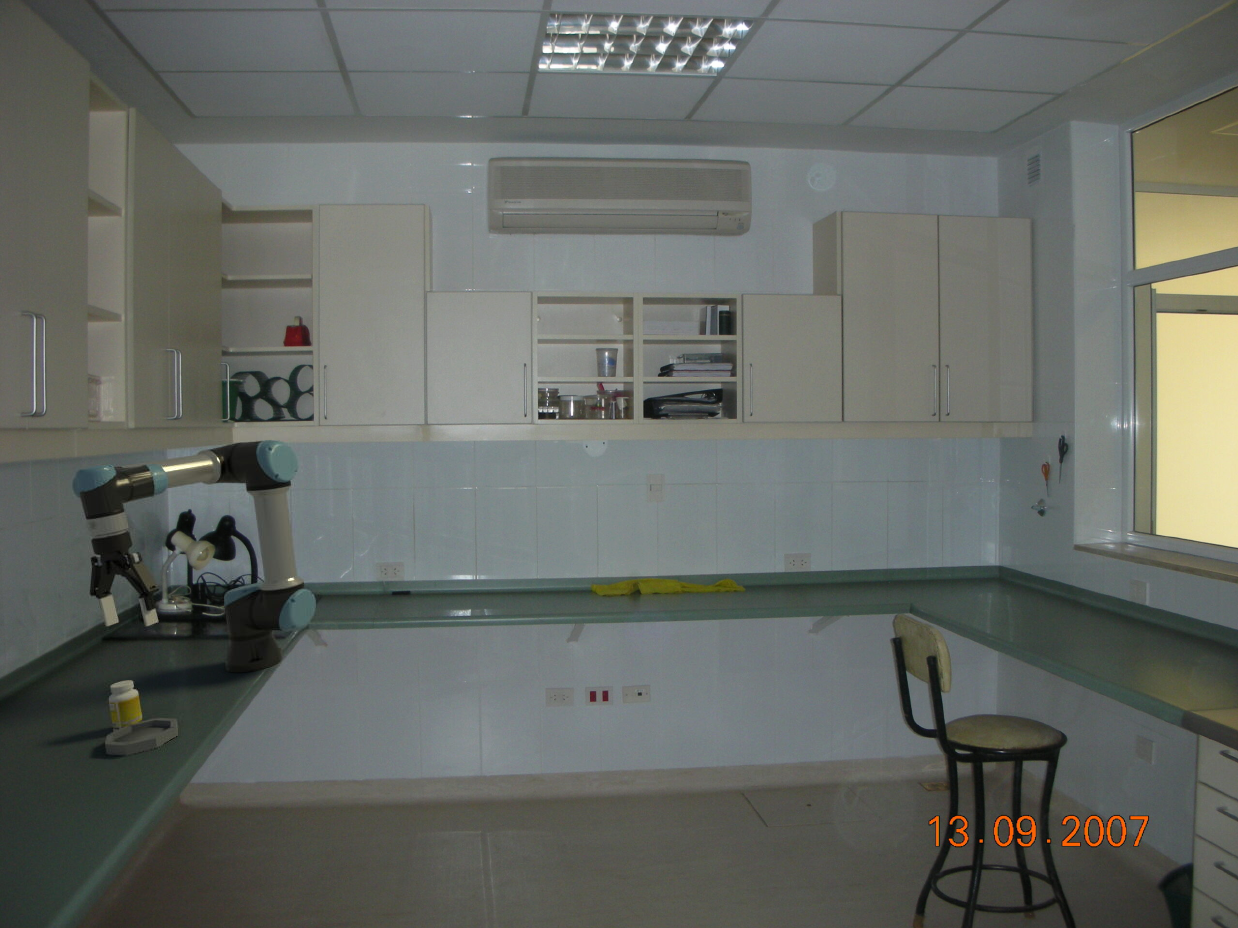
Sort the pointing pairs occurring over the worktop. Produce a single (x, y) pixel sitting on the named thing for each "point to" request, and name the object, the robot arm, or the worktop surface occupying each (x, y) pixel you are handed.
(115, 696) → the pill bottle
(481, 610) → the worktop surface
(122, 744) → the octagonal tray
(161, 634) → the worktop surface
